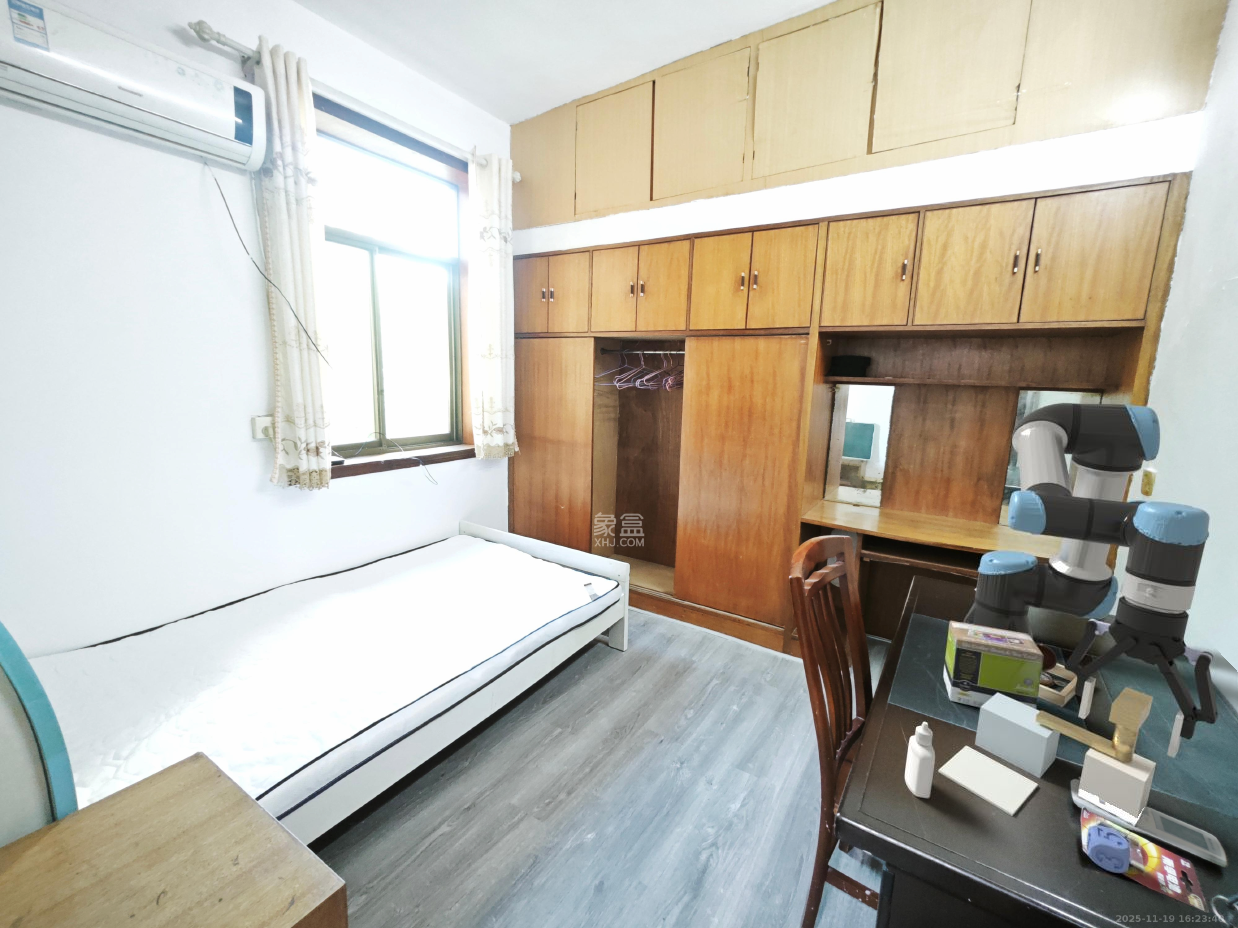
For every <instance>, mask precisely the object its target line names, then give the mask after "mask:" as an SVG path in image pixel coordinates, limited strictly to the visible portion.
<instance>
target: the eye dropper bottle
mask: <svg viewBox="0 0 1238 928" xmlns="http://www.w3.org/2000/svg"><path fill="white" fill-rule="evenodd" d="M933 734H934V733H933V731H932V730H931V728H929V723H928V722H926V721H923V722H922V723H921V725H919V726H916V728H915V733H914V735H911V736H910V737H909V739H908V741H909V742H908V748H907V754H906V761H905V771H904V781H905V784H906V786H907V788H908V790H909V791H910V792H911V793H912V794H913V795H914V796H915V797H918V798H923V799H930V797H931V791H932V784H933V776H934V769H935V762H936V761H935V760H936V754H935V749H934V747H933V745H932V742H933Z"/></svg>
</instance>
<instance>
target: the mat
mask: <svg viewBox="0 0 1238 928" xmlns="http://www.w3.org/2000/svg"><path fill="white" fill-rule="evenodd" d="M937 772H938V773H940V775H943V776H944V777H946V778H947V779H949V780H951V781H953V782H954V783H956V784H957V785H959V786H961V787H963V788H965V789H966V790H967V791H969V792H971V793H973V794H974V795H976V796H978V797H979V798H981V799H982V800H984V801H986V802H988V803H989V804H991V805H993V806H994V807H996V808H998V809H999V810H1001V811H1002V812H1005V813H1006V814H1008V815H1010V816H1011V817H1013V816H1014V815H1015V814H1016V812H1017V811H1018V810H1019V809H1020V808H1021V806H1022V805H1024V803H1025V802H1026V800H1027V799H1028V798H1029V797H1030V796H1031V795H1032V794H1033V792H1034V791H1035V790H1036V788H1037V787H1038V786H1039V784H1038V783H1036V782H1035V781H1033V780H1032V779H1029V778H1027V777H1025V776H1023V775H1022V774H1020V773H1018V772H1017V771H1015V770H1013V769H1010V768H1009V767H1007V766H1005V765H1003V764H1002V763H999V762H997V761H996V760H994V759H992V758H990V757H988V756H987V755H985V754H982V753H981V752H979V751H977V750H975V749H973V748H972V747H970V746H968V745H964V747H963V748H962V749H960V751H958V752H957V753H956V754H954V756H952V758H951V759H949V760H948V761H947V762H946V763H945V764H943V766H941V767H940V768H939V769H938V770H937Z"/></svg>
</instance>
